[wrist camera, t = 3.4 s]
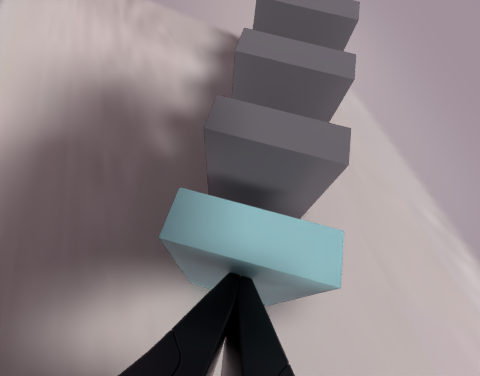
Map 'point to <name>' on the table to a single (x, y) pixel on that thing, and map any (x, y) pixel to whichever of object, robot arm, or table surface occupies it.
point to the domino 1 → (308, 20)
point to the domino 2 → (291, 75)
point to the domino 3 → (271, 156)
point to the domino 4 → (251, 247)
